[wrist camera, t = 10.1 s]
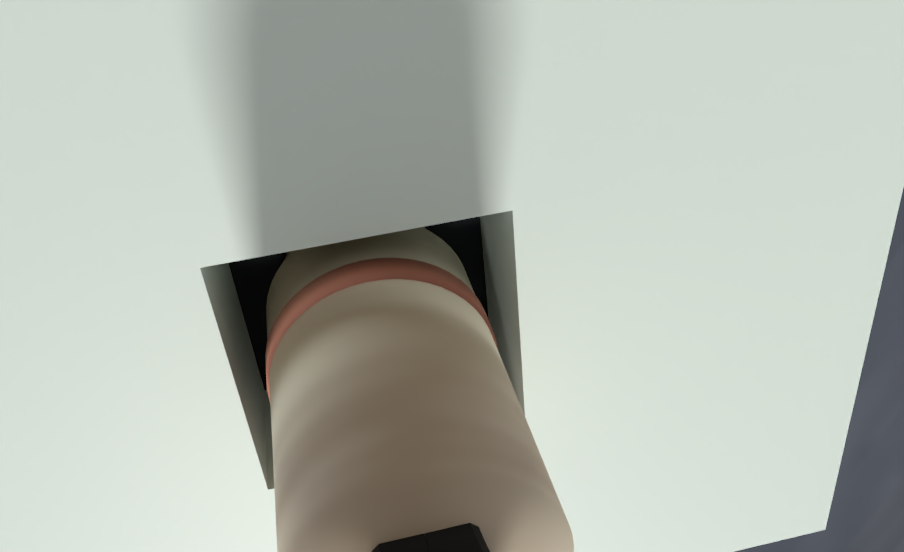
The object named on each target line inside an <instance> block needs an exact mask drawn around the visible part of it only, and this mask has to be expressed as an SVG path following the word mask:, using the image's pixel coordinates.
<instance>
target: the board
mask: <svg viewBox="0 0 904 552" xmlns="http://www.w3.org/2000/svg"><path fill="white" fill-rule="evenodd" d="M903 187H904V0H0V552H277V534H276V512H275V491H274V470H273V448H272V427H271V406H270V401H269V397H268V392H267V390H264V386H263V383H262V379H261V376H260V372H259V369H258V365H257V362H256V358H255V355H254V351H253V347H252V344H251V340H250V337H249V333H248V330H247V326H246V323H245V319H244V316H243V312H242V309H241V305H240V302H239V298H238V295H237V291H236V288H235V284H234V281H233V277H232V273H231V270H230V266H229V263H230V262H235V261H240V260H246V259H251V258H257V257H262V256H268V255H273V254H278V253H284V252H289V251H295V250H300V249H306V248H311V247H316V246H322V245H327V244H333V243H338V242H344V241H349V240H354V239H360V238H365V237H371V236H376V235H382V234H387V233H392V232H398V231H403V230H409V229H414V228H420V227H425V226H431V225H436V224H441V223H447V222H452V221H458V220H463V219H469V218H474V217H479V216H480V224H481V236H482V248H483V260H484V271H485V283H486V295H487V307H488V319H489V322H490V325H491V327H492V330H493V333H494V335H495V338H496V343H497V348H498V352H499V354H500V357H501V359H502V362H503V364H504V366H505V369H506V371H507V374H508V376H509V379H510V381H511V384H512V386H513V388H514V391H515V393H516V396H517V398H518V401H519V403H520V406H521V408H522V410H523V413H524V415H525V418H526V420H527V423H528V425H529V428H530V430H531V432H532V435H533V437H534V440H535V442H536V445H537V447H538V450H539V452H540V454H541V457H542V459H543V462H544V464H545V467H546V469H547V472H548V474H549V476H550V479H551V481H552V484H553V486H554V489H555V491H556V494H557V496H558V498H559V501H560V503H561V506H562V508H563V511H564V513H565V516H566V518H567V520H568V523H569V526H570V528H571V531H572V535H573V542H574V552H734V551H738V550H742V549H746V548H750V547H755V546H759V545H763V544H767V543H771V542H775V541H780V540H784V539H788V538H792V537H796V536H801V535H805V534H809V533H813V532H817V531H821V530H825V528H826V524H827V520H828V515H829V511H830V506H831V502H832V498H833V493H834V489H835V484H836V480H837V476H838V471H839V467H840V463H841V458H842V454H843V449H844V445H845V441H846V436H847V432H848V428H849V423H850V419H851V414H852V410H853V406H854V401H855V397H856V392H857V388H858V384H859V379H860V375H861V371H862V366H863V362H864V357H865V353H866V349H867V344H868V340H869V336H870V331H871V327H872V322H873V318H874V314H875V309H876V305H877V300H878V296H879V292H880V287H881V283H882V279H883V274H884V270H885V265H886V261H887V257H888V252H889V248H890V244H891V239H892V235H893V230H894V226H895V222H896V217H897V213H898V209H899V204H900V200H901V195H902V191H903Z"/></svg>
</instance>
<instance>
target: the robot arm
mask: <svg viewBox="0 0 904 552" xmlns="http://www.w3.org/2000/svg"><path fill="white" fill-rule="evenodd" d="M425 536H426V537H425ZM372 552H490V550H489V548H488V546H487V544H486V542H485V540H484V538H483V536H482V533H481V531H480V528H479V527H478V526H476V525H474V524H472V523H467V524H462V525H458V526H454V527H450V528H445V529H441V530H437V531H432V532H428V533H424V534H419V535H415V536H411V537H406V538H402V539H397V540H393V541H389V542H384V543H379V544H378V545H377V546H376V547H375V548H374V549H373V550H372Z"/></svg>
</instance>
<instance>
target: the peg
mask: <svg viewBox="0 0 904 552" xmlns="http://www.w3.org/2000/svg"><path fill="white" fill-rule="evenodd" d="M266 320H267V346H266V354H265V359H266V383H267V392H268V397H269V401H270V406H271V427H272V448H273V470H274V491H275V512H276V534H277V552H372V550H373V549H374V548H375V547H376V546H377V545H378V544H379V543H384V542H389V541H393V540H397V539H402V538H406V537H411V536H415V535H419V534H424V533H428V532H432V531H437V530H441V529H445V528H450V527H454V526H458V525H462V524H467V523H472V524H474V525H476V526H478V527H479V528H480V531H481V533H482V536H483V538H484V540H485V542H486V544H487V546H488V548H489V550H490V552H574V542H573V535H572V531H571V528H570V526H569V523H568V520H567V518H566V516H565V513H564V511H563V508H562V506H561V503H560V501H559V498H558V496H557V494H556V491H555V489H554V486H553V484H552V481H551V479H550V476H549V474H548V472H547V469H546V467H545V464H544V462H543V459H542V457H541V454H540V452H539V450H538V447H537V445H536V442H535V440H534V437H533V435H532V432H531V430H530V428H529V425H528V423H527V420H526V418H525V415H524V413H523V410H522V408H521V406H520V403H519V401H518V398H517V396H516V393H515V391H514V388H513V386H512V384H511V381H510V379H509V376H508V374H507V371H506V369H505V366H504V364H503V362H502V359H501V357H500V354H499V352H498V348H497V343H496V338H495V335H494V333H493V330H492V327H491V325H490V322H489V320H488V318H487V315H486V313H485V310H484V308H483V306H482V304H481V303H480V301H479V299H478V298H477V296H476V295H475V293H474V291H473V288H472V286H471V283H470V281H469V279H468V276H467V274H466V271H465V269H464V266H463V264H462V263H461V261H460V259H459V257H458V256H457V254H456V253H455V252H454V251H453V249H452V248H451V247H450V246H449V245H448V244H447V243H446V242H445V241H444V240H442V239H441V238H440V237H438V236H437V235H435V234H434V233H433V232H431V231H429V230H427V229H426V228H425V227H420V228H414V229H409V230H403V231H398V232H392V233H387V234H382V235H376V236H371V237H365V238H360V239H354V240H349V241H344V242H338V243H333V244H327V245H322V246H316V247H311V248H306V249H300V250H295V251H289V252H287V254H286V257H285V260H284V261H283V263H282V264H281V266H280V267H279V269H278V270H277V272H276V274H275V276H274V278H273V280H272V282H271V285H270V288H269V292H268V295H267V303H266ZM425 537H426V536H425Z"/></svg>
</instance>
